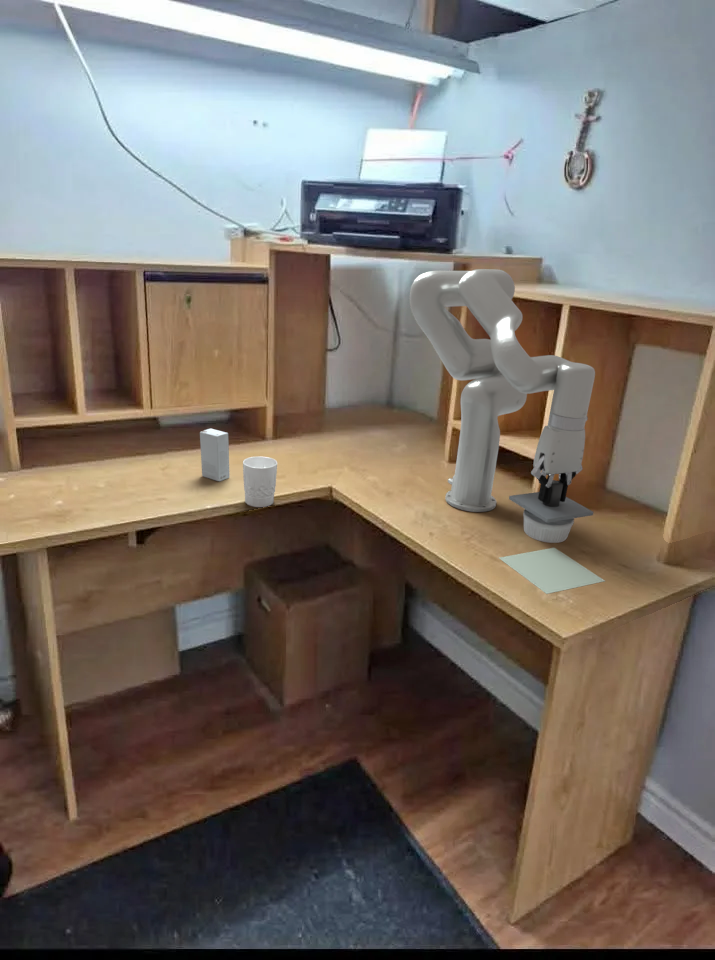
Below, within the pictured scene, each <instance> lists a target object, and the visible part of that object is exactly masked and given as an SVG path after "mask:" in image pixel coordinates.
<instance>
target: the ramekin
mask: <svg viewBox="0 0 715 960" xmlns="http://www.w3.org/2000/svg"><path fill="white" fill-rule="evenodd" d="M522 517H523V531H524V533H525V534H526V535H527V536H528V537H530V538H532V539H533V540H535V541H536V540H537V541H539V542H544V543H550V544H552V543H553V544H556V543H557V544H558V543H563V542H564V541H566V540H567V538H568V536H569V534H570V532H571V529H572V526H573V525H574V523H575V518H573V519H566V520H560V521H554V522H548V523H547V522H545V521H544V520H542V519H540V518H539V517H537V516H535V515H534V514H532V513H531V512H529V511H527V510H526V509H523V515H522Z"/></svg>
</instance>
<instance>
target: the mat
mask: <svg viewBox="0 0 715 960" xmlns="http://www.w3.org/2000/svg"><path fill="white" fill-rule="evenodd" d="M498 559H499V560H501V561H502V562H503V563H505V564H506V565H507V566H509V567H510V568H511V569H513V570H514V571H515V572H517V573H518V574H519V575H521V576H522V577H523V578H524V579H525V580H527V581H528V582H530V584H533V585H534V586H535V587H537V588H538V589H539V590H541V591H542V592H543V593H545V594H546V595H548V594H553V593H557V592H562V591H567V590H571V589H575V588H580V587H585V586H589V585H593V584H597V583H598V584H599V583H602V582H603V583H604V582H606V580H604V579H603V578H602V577H600V576H599V575H597V574H595V573H594V572H592V571H591V570H590V569H588V568H586V567H585V566H583V565H582V564H580V563H579V562H577V561H576V560H575V559H572V558H571V557H570V556H568V555H567V554H565V553H563V552H562V551H561V550H559V549H558V548H556V547H551V548H550V547H549V548H544V549H538V550H534V551H527V552H524V553H523V552H522V553H517V554H516V553H515V554H512V555H507V556H501V557H498Z"/></svg>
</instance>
